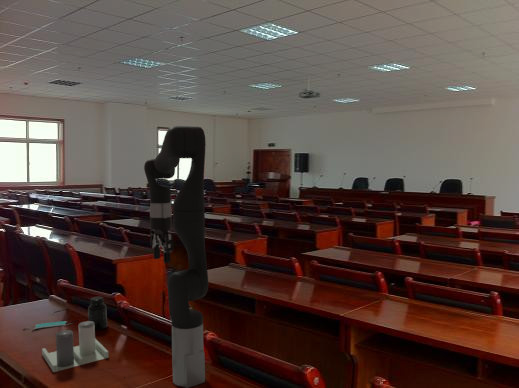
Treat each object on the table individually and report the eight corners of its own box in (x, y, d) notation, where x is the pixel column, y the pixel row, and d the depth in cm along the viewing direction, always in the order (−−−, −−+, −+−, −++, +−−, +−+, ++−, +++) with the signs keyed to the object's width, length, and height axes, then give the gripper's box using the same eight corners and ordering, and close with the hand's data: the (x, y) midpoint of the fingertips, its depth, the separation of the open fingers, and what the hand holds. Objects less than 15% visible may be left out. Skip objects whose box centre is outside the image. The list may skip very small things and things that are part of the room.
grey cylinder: (75, 364, 144) (74, 333, 144) (59, 368, 141) (57, 337, 141) (71, 358, 148) (70, 329, 148) (55, 362, 145) (54, 332, 145)
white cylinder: (97, 353, 152) (96, 324, 152) (82, 357, 149) (81, 327, 149) (92, 348, 156) (91, 320, 156) (77, 352, 153) (76, 323, 153)
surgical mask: (71, 307, 192) (81, 312, 185) (71, 317, 192) (82, 322, 185) (19, 320, 177) (28, 325, 170) (19, 330, 177) (29, 337, 170)
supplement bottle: (101, 323, 183) (100, 294, 183) (110, 327, 179) (109, 297, 178) (85, 328, 178) (84, 298, 177) (94, 332, 174) (93, 301, 173)
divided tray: (108, 360, 149) (108, 351, 149) (53, 375, 139) (53, 365, 139) (93, 344, 162) (93, 336, 162) (42, 357, 152) (41, 348, 152)
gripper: (142, 214, 163) (143, 258, 164) (159, 218, 152) (160, 265, 153) (162, 212, 168) (163, 256, 169) (179, 216, 156) (180, 262, 157)
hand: (161, 260), depth 161 cm, fingers open, 8 cm apart
